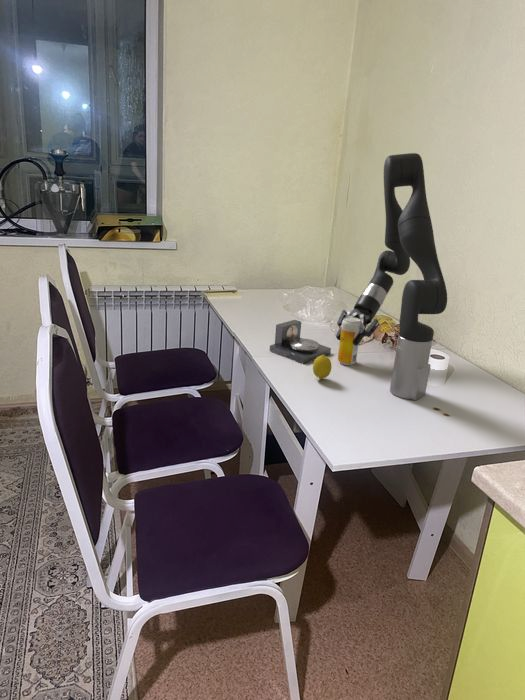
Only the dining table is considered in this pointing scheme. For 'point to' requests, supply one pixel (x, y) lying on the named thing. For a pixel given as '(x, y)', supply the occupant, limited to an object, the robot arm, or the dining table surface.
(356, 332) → the beer can
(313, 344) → the pan
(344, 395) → the dining table surface
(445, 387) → the dining table surface
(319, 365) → the lemon
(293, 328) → the scale
